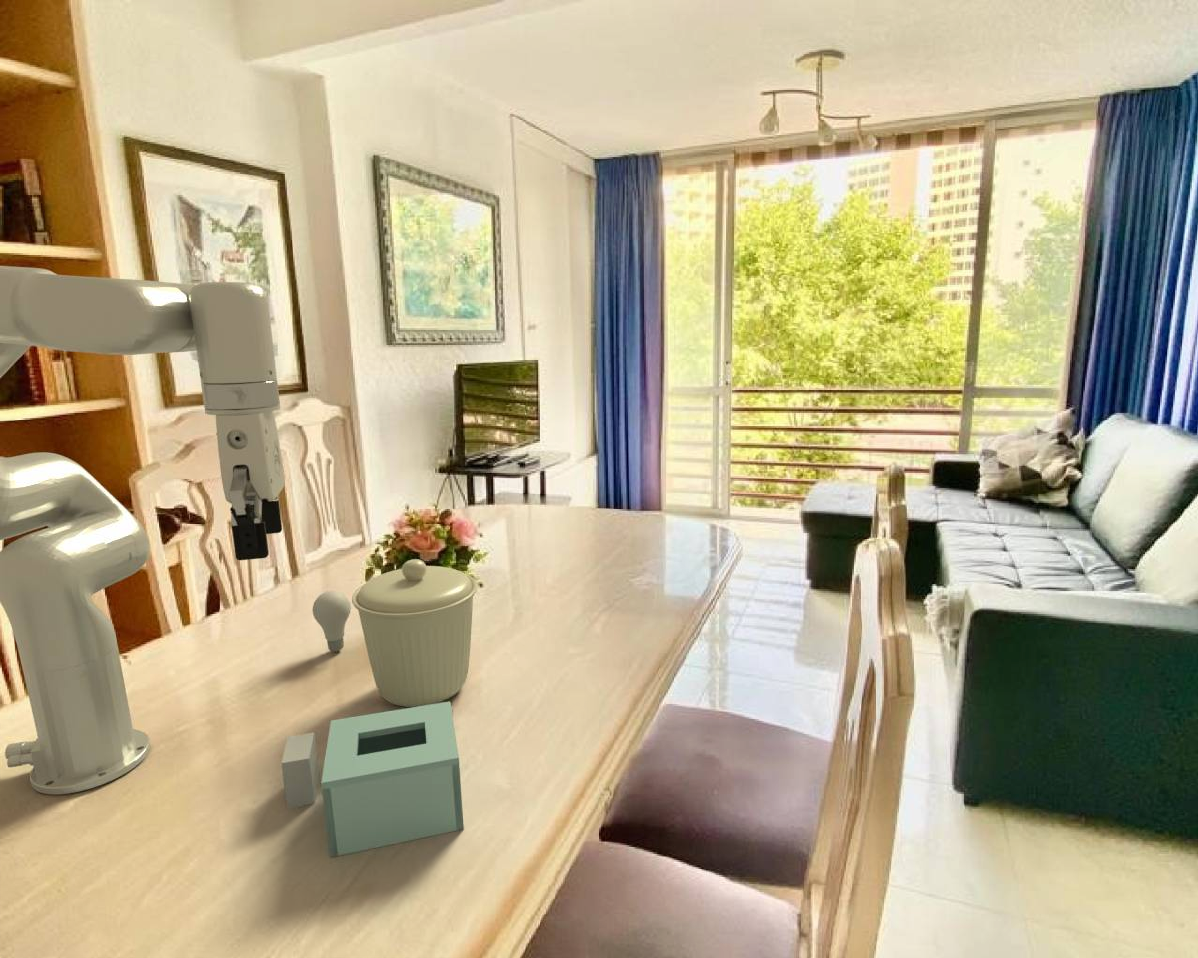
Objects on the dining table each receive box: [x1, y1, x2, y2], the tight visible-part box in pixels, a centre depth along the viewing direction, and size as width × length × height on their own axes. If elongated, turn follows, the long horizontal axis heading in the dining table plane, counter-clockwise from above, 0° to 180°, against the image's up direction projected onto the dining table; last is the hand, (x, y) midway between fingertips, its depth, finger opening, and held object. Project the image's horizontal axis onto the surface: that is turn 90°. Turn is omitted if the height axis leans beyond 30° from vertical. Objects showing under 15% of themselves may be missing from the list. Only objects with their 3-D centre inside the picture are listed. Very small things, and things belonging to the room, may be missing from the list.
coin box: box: [320, 701, 465, 858], centre depth 80 cm, size 14×12×9 cm
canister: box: [351, 558, 478, 708], centre depth 104 cm, size 18×18×21 cm
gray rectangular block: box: [280, 732, 320, 809], centre depth 83 cm, size 6×3×6 cm, turn 16°
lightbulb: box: [312, 590, 352, 653], centre depth 118 cm, size 6×6×11 cm
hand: (260, 545), depth 80 cm, fingers open, 9 cm apart
